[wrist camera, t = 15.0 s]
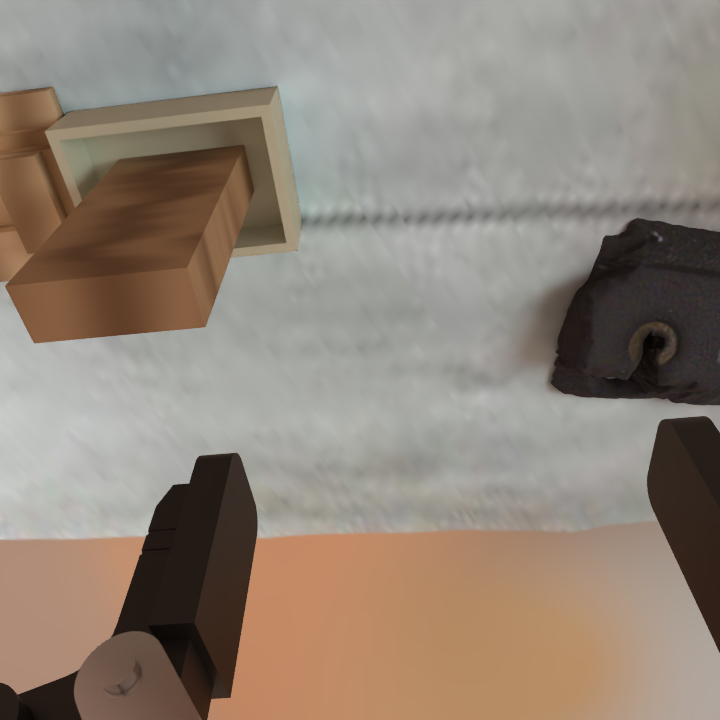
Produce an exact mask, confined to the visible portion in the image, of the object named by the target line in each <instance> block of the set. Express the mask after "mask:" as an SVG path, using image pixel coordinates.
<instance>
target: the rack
mask: <svg viewBox="0 0 720 720" xmlns="http://www.w3.org/2000/svg"><path fill="white" fill-rule="evenodd" d="M62 117H64V115H63V112H62V110H61V107H60V104H59V102H58V99H57V96H56V94H55V91H54V88H53V87H47V88H39V89H31V90H23V91H15V92H7V93H0V282H2V281H10V280H11V279H12V278H13V277H14V276H15V275H16V273H17V272H18V271H19V270H20V269H21V268H22V267H23V266H24V265H25V263H26V262H27V261H28V260H29V259H30V258H31V257H32V256H33V255H34V253H35V252H36V251H37V250H38V249H39V248H40V247H41V246H42V245H43V243H44V242H45V241H46V240H47V239H48V238H49V237H50V236H51V235H52V233H53V232H54V231H55V230H56V229H57V228H58V227H59V226H60V225H61V223H62V222H63V221H64V220H65V219H66V218H67V217H68V216H69V215H70V213H71V212H72V211H73V210H74V209H75V206H74V204H73V201H72V199H71V196H70V194H69V191H68V189H67V186H66V184H65V181H64V179H63V176H62V174H61V171H60V169H59V166H58V164H57V161H56V159H55V156H54V154H53V151H52V149H51V146H50V144H49V141H48V139H47V136H46V134H45V130H47V129H48V128H49V127H51V126H52V125H53V124H55V123H56V122H57V121H59V120H60V119H61V118H62Z"/></svg>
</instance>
